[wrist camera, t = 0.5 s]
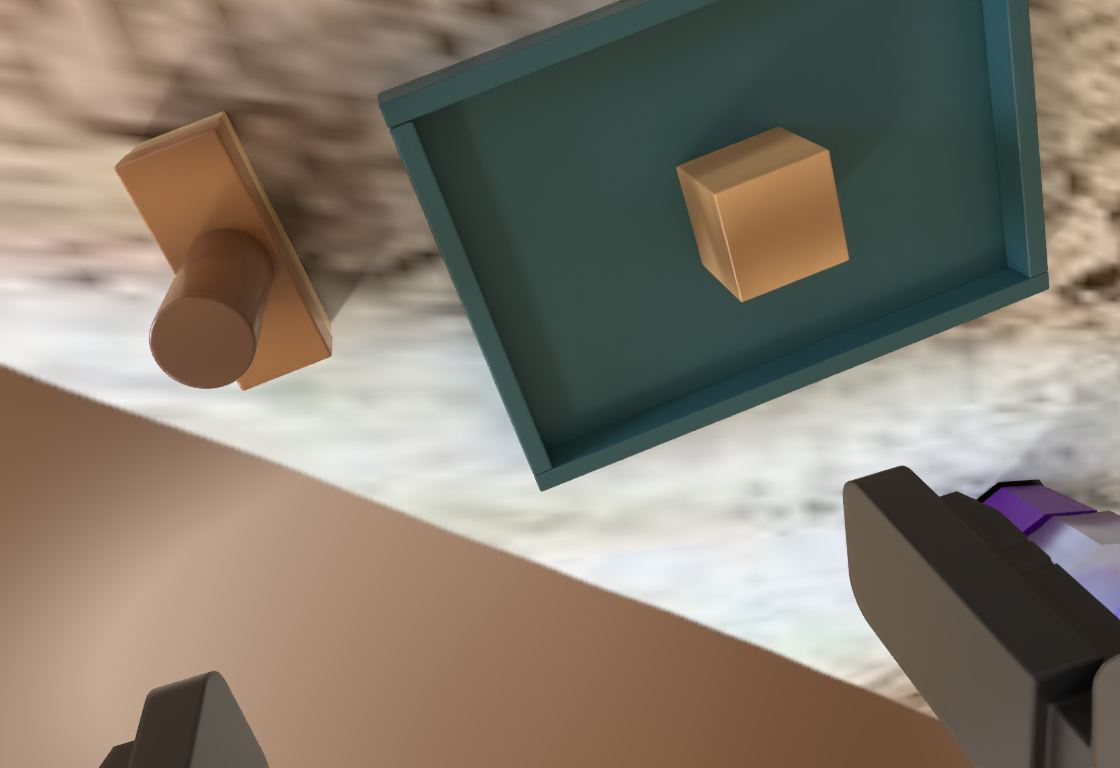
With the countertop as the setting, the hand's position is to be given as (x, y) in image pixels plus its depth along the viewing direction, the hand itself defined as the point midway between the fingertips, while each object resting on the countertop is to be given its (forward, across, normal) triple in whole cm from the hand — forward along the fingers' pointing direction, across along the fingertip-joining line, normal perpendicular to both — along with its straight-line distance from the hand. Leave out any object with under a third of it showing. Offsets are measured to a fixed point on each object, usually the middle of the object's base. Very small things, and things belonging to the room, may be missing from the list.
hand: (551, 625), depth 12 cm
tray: (+23, -11, +3) cm, 26 cm away
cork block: (+23, -11, +3) cm, 25 cm away
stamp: (+23, +6, 0) cm, 24 cm away
